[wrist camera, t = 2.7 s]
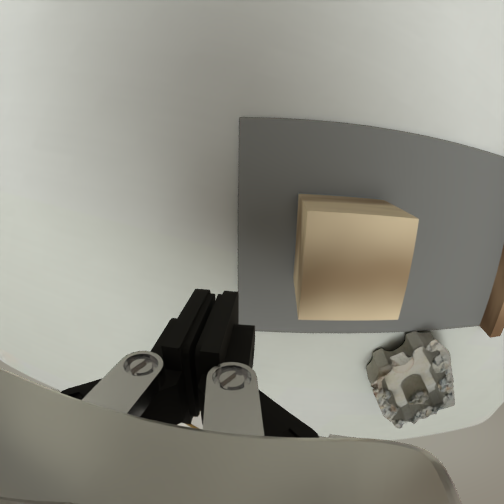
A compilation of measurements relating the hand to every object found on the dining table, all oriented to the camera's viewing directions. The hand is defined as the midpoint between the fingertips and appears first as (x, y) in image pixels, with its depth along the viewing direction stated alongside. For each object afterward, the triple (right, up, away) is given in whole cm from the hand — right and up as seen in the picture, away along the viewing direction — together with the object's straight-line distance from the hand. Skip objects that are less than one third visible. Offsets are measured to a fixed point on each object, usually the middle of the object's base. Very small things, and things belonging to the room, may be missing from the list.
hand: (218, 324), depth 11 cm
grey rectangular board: (+12, +4, +9) cm, 15 cm away
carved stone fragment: (+17, -9, +13) cm, 23 cm away
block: (+7, +4, +9) cm, 12 cm away
